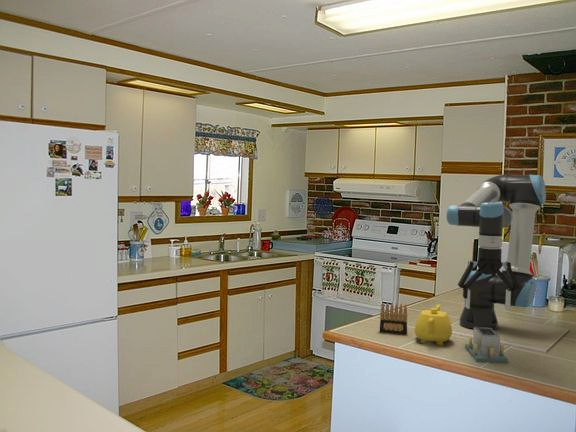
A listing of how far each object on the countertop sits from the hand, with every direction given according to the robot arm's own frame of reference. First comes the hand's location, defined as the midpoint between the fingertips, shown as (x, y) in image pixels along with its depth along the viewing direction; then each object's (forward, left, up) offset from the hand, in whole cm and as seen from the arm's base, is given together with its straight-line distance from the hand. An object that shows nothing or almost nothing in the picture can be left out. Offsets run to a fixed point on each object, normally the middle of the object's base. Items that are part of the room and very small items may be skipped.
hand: (487, 308), depth 187 cm
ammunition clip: (-23, -29, -17) cm, 41 cm away
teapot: (-15, -15, -17) cm, 27 cm away
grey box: (0, 0, -15) cm, 15 cm away
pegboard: (0, 0, -16) cm, 16 cm away
